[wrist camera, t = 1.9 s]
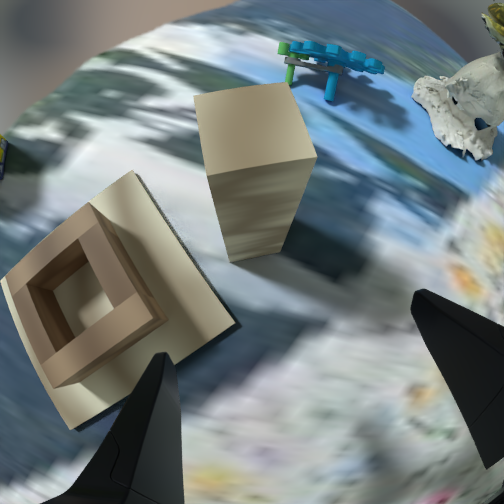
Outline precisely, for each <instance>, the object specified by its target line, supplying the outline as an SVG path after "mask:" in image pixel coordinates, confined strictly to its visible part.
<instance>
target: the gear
mask: <svg viewBox="0 0 504 504" xmlns="http://www.w3.org/2000/svg"><path fill="white" fill-rule="evenodd" d="M289 45H290V46H289ZM288 50H289V52H288ZM278 54H280V55H286V56H288V57H285V61H284V63H286V64H288V69H287V74H286V79H285V82H288V84H289V85H292V80H293V75H294V70H295V66H300V67H306V68H311V69H315V70H320V71H325V72H329V76H328V81H327V86H326V90H325V95H324V99H326V100H330V101H333V100H334V96H335V91H336V86H337V81H338V76H339V75H342V72H343V68H345V67H348V68H350V69H352V70H355V71H359V72H363V71H366V72H368V73H371V74H377V73H380V74H384V69H385V66H383V65H382V62H381V61H379V60H376V59H373V58H369V59H366V54H364V53H361V52H358V51H352V53H348V52H346V51H344V50H343V49H342V47H341V46H338V45H332V44H327V47H326V46H323V45H320V44H318V43H316V42H313V41H304V43H301V42H296V41H293V42H292V44H288V43H283V42H280V43H279V49H278ZM309 57H312V58H314V61H317V62H321V63H325V62H328V65H327V67H326V66H321V65H316V64H311V63H306V62H301V60H300V59H303V60H309ZM298 58H300V59H298Z"/></svg>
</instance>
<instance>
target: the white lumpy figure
mask: <svg viewBox="0 0 504 504" xmlns="http://www.w3.org/2000/svg"><path fill="white" fill-rule="evenodd" d="M488 13H489V16H487V15H485V14H483V13H482V17H481V18H482V19H483V20H484V22H485V25H486V26H485V28H486V29H487V30H488V31H489V35H490V37H492V38H493V39H494V40H495V41H496V42H497V43H498V44H499V46H500V48H501V52H499V53H496V54H492V55H489V56H486V57H482V58H480V59H477V60H475V61H472V62H470V63H469V64H467V65H465V66H464V67H462V68H461V69H460V70H459V71H458V72H457V73H456V74H455V75H454V76H453V77H451V78H450V79H449V78H447V77H444V76H440V79H443V80H436V79H434V78H432V77H429V76H424V78H419V79H418V80H417V81H416V83H415V86H414V93H413V94H412V96H411V97H412V98H414V100H416V102H419V103H420V104H422V107H424V108H426V110H427V111H428V113H429V116H430V118H431V123H432V126H433V128H432V129H433V131H434V134H435V137H437V138H438V139H440V140H441V142H443V144H444V145H446V146H447V145H448V144H451V145H452V147H453V148H459V149H462V150H463V152H462V153H463V156H464V155H465V153H466V149H468V150H469V151H470V152H472V153H473V156H474V157H475V160H479V159H480V158H481V159H482V160H483V159H484V158H485V159H486V158H488V157H489V156H490V155H492V154H493V150H492V145H493V142H494V138H495V137H496V136H497V127H496V126H498V125H500V124H501V123H502V122H503V121H504V4H502V3H494V4H492V5H490V6H489V7H488ZM452 96H453V97H454V99H455V100H456V101H458V104H456V105H455V104H454V103H453V101H452ZM476 118H482V119H483V120H484V121H485V122H486V125H487V126H488V128H485V129H483V130H477V129H476V127H475V122H474V120H475V119H476ZM462 158H463V157H462Z"/></svg>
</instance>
